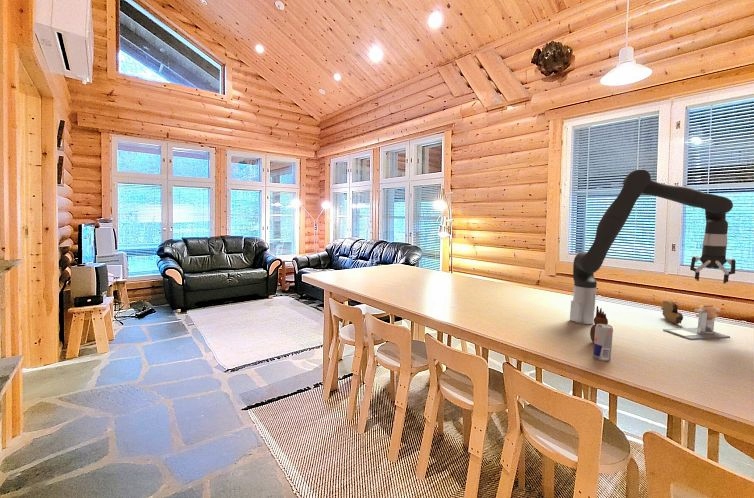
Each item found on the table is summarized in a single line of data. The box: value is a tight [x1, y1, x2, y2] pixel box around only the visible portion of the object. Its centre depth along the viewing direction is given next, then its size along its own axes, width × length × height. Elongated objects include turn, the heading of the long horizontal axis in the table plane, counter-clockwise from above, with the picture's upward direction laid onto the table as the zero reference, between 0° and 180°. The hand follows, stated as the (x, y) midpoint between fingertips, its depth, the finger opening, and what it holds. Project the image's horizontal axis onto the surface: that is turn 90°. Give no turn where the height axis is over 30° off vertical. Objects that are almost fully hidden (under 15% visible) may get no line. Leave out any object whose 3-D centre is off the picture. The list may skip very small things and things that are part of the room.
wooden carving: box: [660, 300, 684, 324], centre depth 177 cm, size 16×5×10 cm, turn 168°
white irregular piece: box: [694, 307, 722, 334], centre depth 160 cm, size 11×5×10 cm, turn 99°
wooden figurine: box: [589, 305, 609, 344], centre depth 145 cm, size 7×6×15 cm
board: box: [662, 327, 731, 341], centre depth 160 cm, size 20×12×1 cm, turn 99°
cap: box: [695, 304, 719, 319], centre depth 159 cm, size 10×5×5 cm, turn 99°
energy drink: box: [592, 324, 614, 362], centre depth 131 cm, size 5×5×12 cm
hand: (710, 281), depth 158 cm, fingers open, 8 cm apart
